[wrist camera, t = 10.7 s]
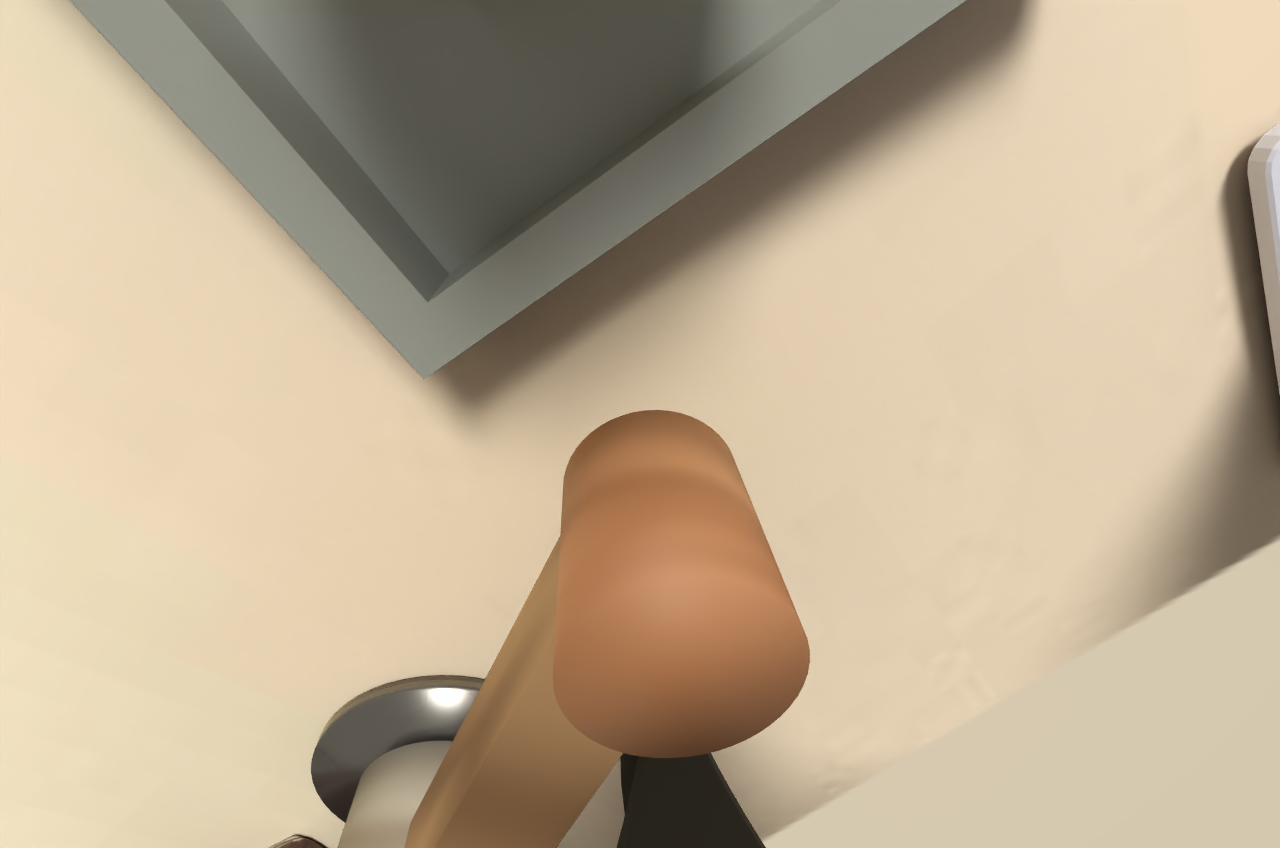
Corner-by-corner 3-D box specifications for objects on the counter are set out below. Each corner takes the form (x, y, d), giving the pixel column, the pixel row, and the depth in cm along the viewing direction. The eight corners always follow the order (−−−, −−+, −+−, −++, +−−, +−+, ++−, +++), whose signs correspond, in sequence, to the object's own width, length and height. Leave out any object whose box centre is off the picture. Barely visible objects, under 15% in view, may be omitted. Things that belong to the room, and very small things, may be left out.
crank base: (463, 634, 14) (460, 649, 13) (624, 771, 17) (625, 786, 16) (259, 752, 15) (251, 768, 15) (440, 861, 18) (437, 876, 18)
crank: (494, 852, 16) (459, 1144, 12) (340, 824, 15) (235, 1134, 11) (776, 410, 11) (915, 641, 6) (563, 319, 10) (545, 517, 5)
